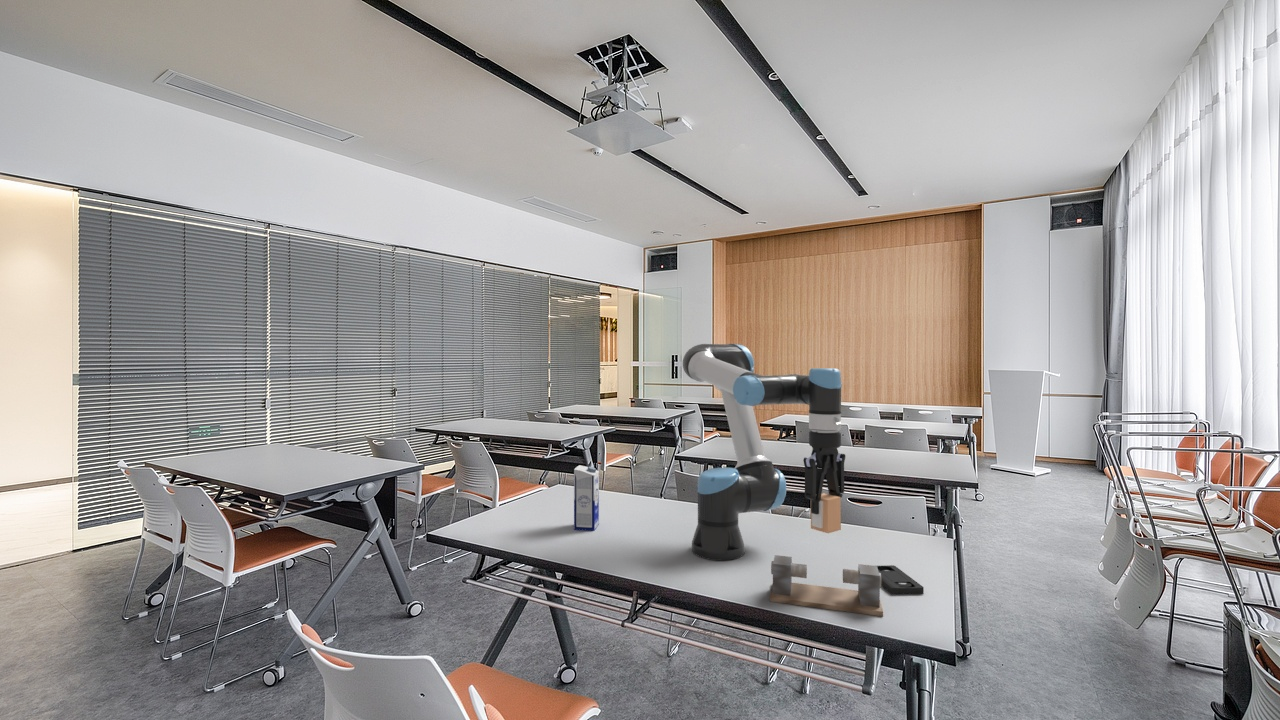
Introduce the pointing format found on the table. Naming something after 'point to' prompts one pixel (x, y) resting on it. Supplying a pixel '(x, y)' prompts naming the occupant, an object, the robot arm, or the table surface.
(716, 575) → the table surface
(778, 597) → the shaft bench
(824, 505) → the coupler block
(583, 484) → the milk carton
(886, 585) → the vhs tape
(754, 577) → the table surface
